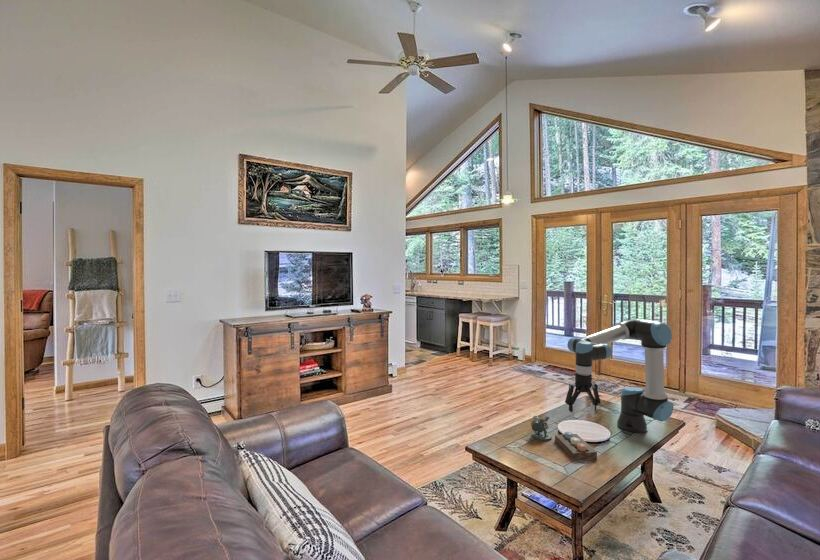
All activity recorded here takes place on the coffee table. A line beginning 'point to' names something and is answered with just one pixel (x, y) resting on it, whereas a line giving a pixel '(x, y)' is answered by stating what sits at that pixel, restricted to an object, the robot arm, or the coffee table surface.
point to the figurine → (540, 429)
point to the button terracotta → (581, 447)
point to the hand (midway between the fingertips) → (582, 417)
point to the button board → (575, 448)
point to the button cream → (574, 441)
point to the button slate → (568, 435)
